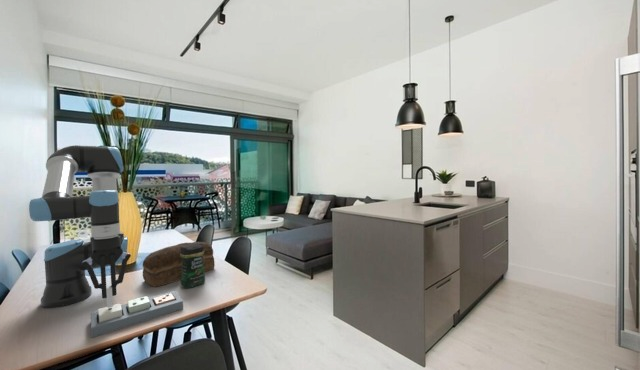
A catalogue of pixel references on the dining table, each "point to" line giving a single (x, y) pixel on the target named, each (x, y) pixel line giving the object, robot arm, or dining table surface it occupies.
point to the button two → (138, 304)
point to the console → (134, 315)
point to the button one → (110, 312)
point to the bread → (171, 264)
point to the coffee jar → (192, 265)
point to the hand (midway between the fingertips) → (109, 305)
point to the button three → (163, 299)
